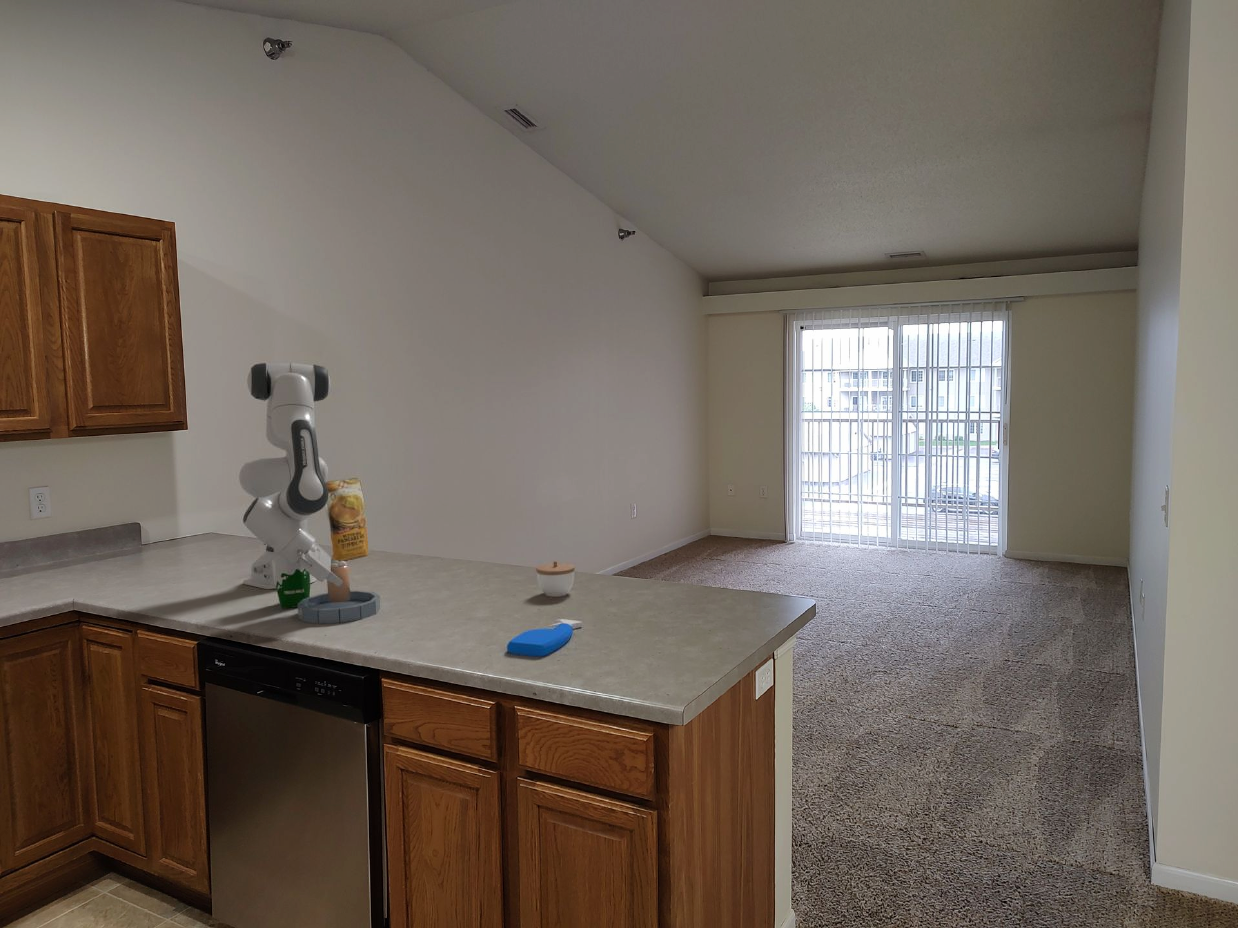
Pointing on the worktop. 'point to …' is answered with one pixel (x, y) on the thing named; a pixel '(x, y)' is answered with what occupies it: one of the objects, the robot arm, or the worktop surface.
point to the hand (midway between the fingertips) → (340, 581)
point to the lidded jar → (555, 578)
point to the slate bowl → (338, 608)
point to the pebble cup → (343, 590)
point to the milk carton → (291, 582)
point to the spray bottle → (543, 639)
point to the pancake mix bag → (347, 519)
